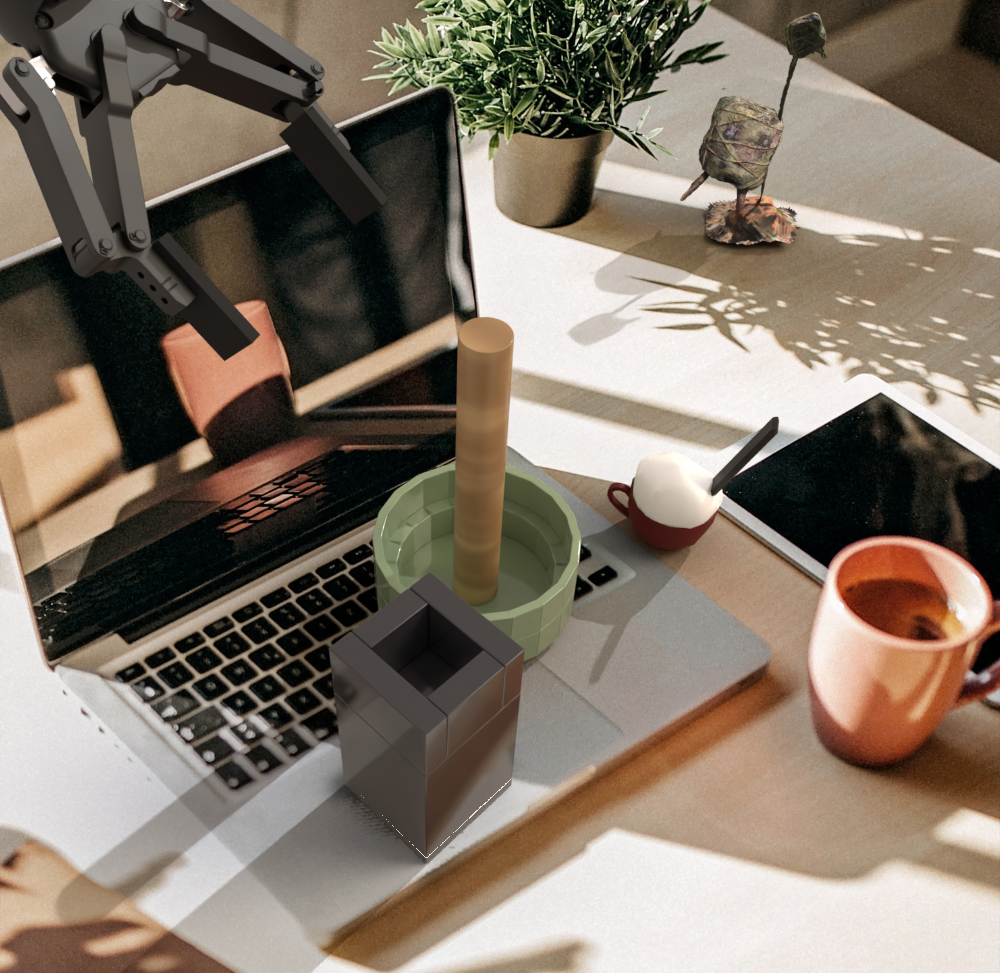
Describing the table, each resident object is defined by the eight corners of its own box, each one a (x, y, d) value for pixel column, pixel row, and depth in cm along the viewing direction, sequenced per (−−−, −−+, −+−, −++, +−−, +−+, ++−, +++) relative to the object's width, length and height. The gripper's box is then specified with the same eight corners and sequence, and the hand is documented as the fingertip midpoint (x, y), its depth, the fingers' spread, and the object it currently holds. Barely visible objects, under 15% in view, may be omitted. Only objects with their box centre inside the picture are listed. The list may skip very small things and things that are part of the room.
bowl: (475, 714, 71) (478, 659, 67) (336, 593, 77) (330, 535, 73) (612, 595, 78) (622, 538, 74) (474, 492, 84) (476, 433, 79)
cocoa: (592, 528, 82) (611, 405, 73) (637, 478, 86) (661, 355, 77) (709, 593, 78) (744, 472, 70) (751, 537, 82) (789, 416, 73)
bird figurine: (691, 189, 112) (729, -15, 98) (805, 217, 110) (862, 12, 95) (669, 233, 107) (706, 24, 93) (788, 263, 105) (846, 54, 90)
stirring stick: (475, 613, 76) (486, 360, 60) (443, 587, 77) (446, 333, 61) (506, 588, 77) (525, 335, 61) (475, 563, 79) (485, 309, 62)
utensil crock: (426, 865, 64) (424, 735, 54) (344, 784, 68) (328, 647, 57) (511, 784, 68) (525, 649, 58) (430, 712, 71) (429, 571, 61)
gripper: (136, -106, 65) (378, 191, 73) (-215, 84, 50) (140, 440, 57) (201, -193, 60) (455, 136, 68) (-167, -12, 44) (216, 393, 52)
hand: (311, 276), depth 62 cm, fingers open, 13 cm apart
